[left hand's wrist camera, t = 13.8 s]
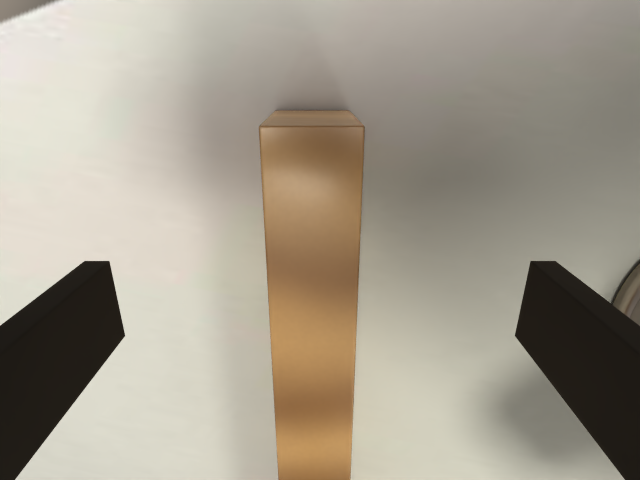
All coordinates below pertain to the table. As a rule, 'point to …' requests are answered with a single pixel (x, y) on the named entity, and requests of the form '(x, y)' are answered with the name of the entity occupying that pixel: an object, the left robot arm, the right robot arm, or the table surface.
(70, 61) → the table surface
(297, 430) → the beam
